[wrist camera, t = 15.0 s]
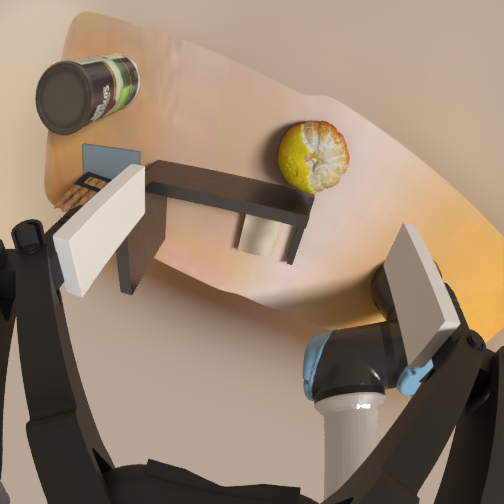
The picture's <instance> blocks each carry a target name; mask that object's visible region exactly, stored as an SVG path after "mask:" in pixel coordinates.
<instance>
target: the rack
mask: <svg viewBox="0 0 504 504" xmlns="http://www.w3.org/2000/svg"><path fill="white" fill-rule="evenodd" d="M167 197H171V198H176V199H181V200H185V201H190V202H194V203H199V204H204V205H208V206H213V207H217V208H222V209H226V210H230V211H235V212H239V213H243V214H248V215H252V216H256V217H261V218H265V219H269V220H273V221H277V222H282V223H286V224H290V225H294V226H298V227H297V230H296V233H295V236H294V239H293V242H292V246H291V249H290V252H289V255H288V258H287V264H290V265H292V264H293V261H294V258H295V255H296V252H297V249H298V246H299V244H300V241H301V238H302V235H303V232H304V229H305V228H306V226H307V223H308V220H309V214H310V211H311V208H312V205H313V201H314V198H315V197H314V194H310V193H305V192H302V191H300V190H296V189H292V188H288V187H284V186H280V185H276V184H272V183H268V182H263V181H259V180H255V179H250V178H246V177H241V176H237V175H232V174H228V173H223V172H218V171H213V170H209V169H204V168H199V167H194V166H188V165H183V164H178V163H172V162H167V161H161V160H158V161H157V162H156V163H155V164H154V165H153V166H152V167H151V168H150V169H148V170H147V171H146V172H145V214H144V215H143V216H142V218H141V219H140V220H139V221H138V223H137V224H136V225H135V226H134V228H133V229H132V230H131V231H130V233H129V234H128V235H127V237H126V238H125V239H124V240H123V242H122V243H121V244H120V246H119V247H118V248H117V250H116V253H117V263H118V272H119V281H120V289H121V292H122V293H126V294H129V295H132V294H133V293H134V291H135V289H136V287H137V285H138V284H139V282H140V280H141V279H142V277H143V275H144V273H145V272H146V270H147V268H148V267H149V265H150V263H151V261H152V260H153V258H154V256H155V255H156V253H157V251H158V250H159V248H160V246H161V245H162V243H163V241H164V240H165V229H166V207H167Z"/></svg>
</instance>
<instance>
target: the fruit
mask: <svg viewBox="0 0 504 504" xmlns="http://www.w3.org/2000/svg"><path fill="white" fill-rule="evenodd" d="M346 147H347V145H346V142H345V140H344V137H343V135H342V134H340V133H339V132H337V129H336V128H335V127H334V126H333V125H332V124H329V123H328V122H326V121H321V122H316V121H307V122H304V123H299V124H296V125H294V126H292V127H291V128H290V129H289V130H288V131H287V133H286V135H285V136H284V138H283V139H282V141H281V144H280V147H279V151H278V165H279V168H280V171H281V173H282V175H283V177H284V179H285V180H286V182H287V183H289V184H290V185H291V186H293V187H294V188H296V189H298V190H300V191H302V192H305V193H310V194H315V193H316V192H319V191H322V190H323V189H324V188H329V187H333V186H335V185H336V184H337V183H338V182H339V180H340V177H341V176H342V175H343V174H344V173H345V172H346V170H347V168H348V165H349V153H348V149H347V148H346Z"/></svg>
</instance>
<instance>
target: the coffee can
mask: <svg viewBox="0 0 504 504" xmlns="http://www.w3.org/2000/svg"><path fill="white" fill-rule="evenodd" d="M139 88H140V72H139V69H138V67H137V65H136V64H135V62H134V61H133V60H132V59H131V58H129V57H128V56H126V55H124V54H119V53H113V54H109V55H102V56H95V57H88V58H82V59H77V60H71V61H61V62H58V63H55V64H53V65H52V66H50V67H49V68H48V69H47V70H46V71H45V72H44V73H43V75H42V76H41V78H40V80H39V83H38V85H37V90H36V107H37V111H38V114H39V117H40V119H41V121H42V122H43V124H44V125H45V126H46V127H47V128H48V129H49V130H50V131H52V132H54V133H56V134H59V135H69V134H72V133H75V132H77V131H78V130H80V129H81V128H82V127H84V126H86V125H88V124H90V123H92V122H94V121H96V120H98V119H100V118H102V117H105V116H107V115H109V114H111V113H113V112H116V111H118V110H121V109H124V108H126V107H127V106H128V105H130V104H131V103H132V102H133V101H134V99H135V98H136V96H137V94H138V92H139Z"/></svg>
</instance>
